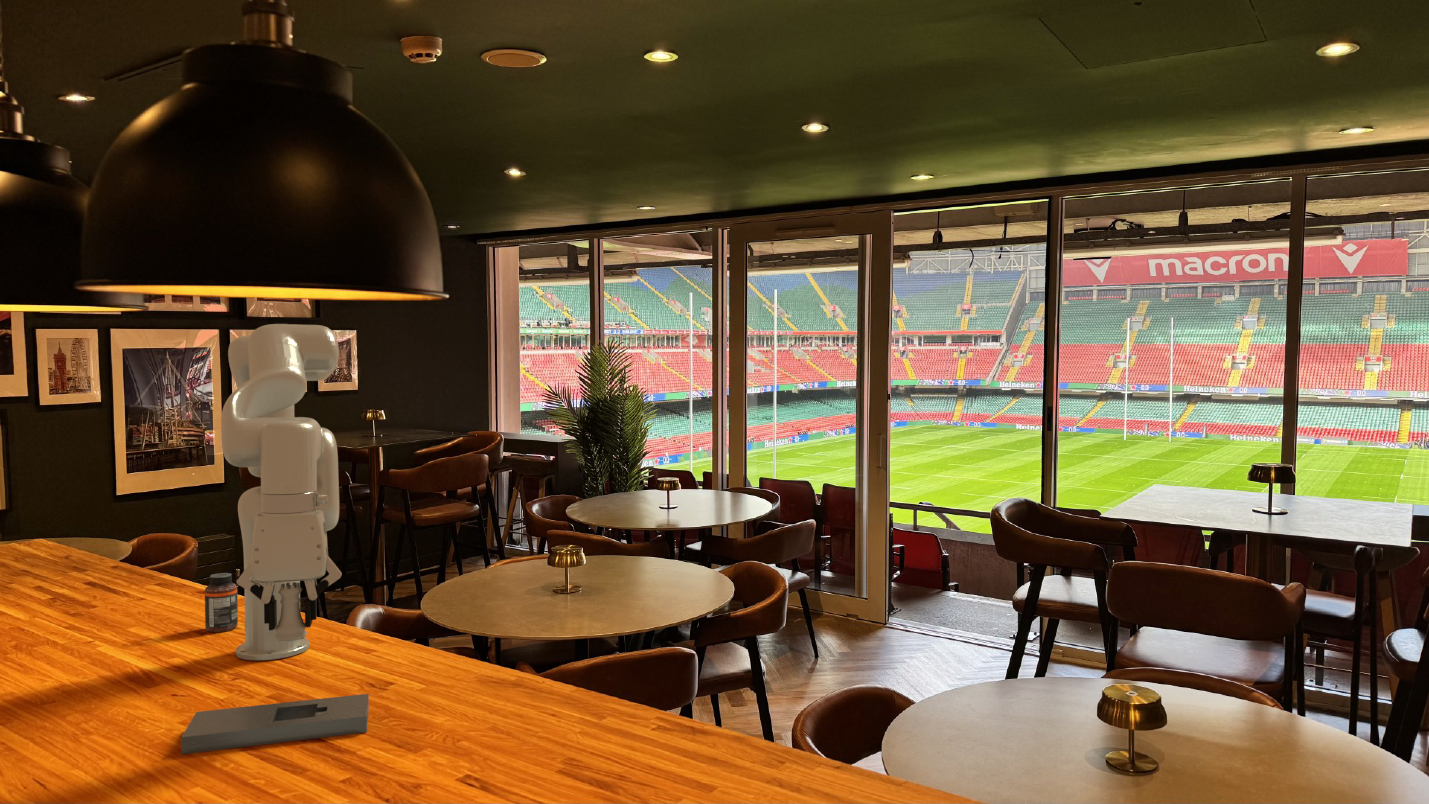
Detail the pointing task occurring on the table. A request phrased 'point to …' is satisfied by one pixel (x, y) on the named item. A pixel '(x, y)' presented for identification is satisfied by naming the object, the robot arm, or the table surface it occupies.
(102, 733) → the table surface
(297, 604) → the rook chess piece
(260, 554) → the robot arm
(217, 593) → the supplement bottle
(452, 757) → the table surface
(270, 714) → the pocket plate
